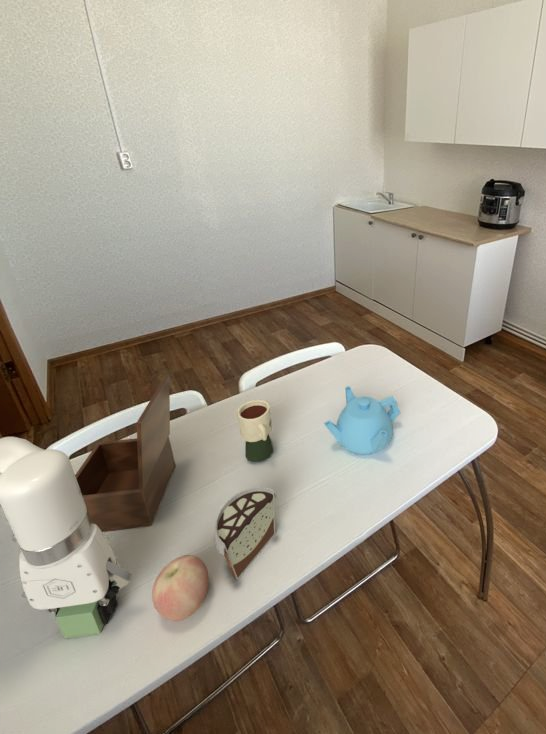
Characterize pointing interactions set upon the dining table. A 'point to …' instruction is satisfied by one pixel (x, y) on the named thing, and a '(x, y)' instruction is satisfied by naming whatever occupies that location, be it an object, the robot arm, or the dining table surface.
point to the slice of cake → (245, 527)
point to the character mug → (256, 429)
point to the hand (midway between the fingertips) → (90, 615)
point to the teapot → (364, 423)
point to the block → (79, 620)
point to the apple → (180, 588)
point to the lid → (153, 430)
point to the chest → (122, 485)
